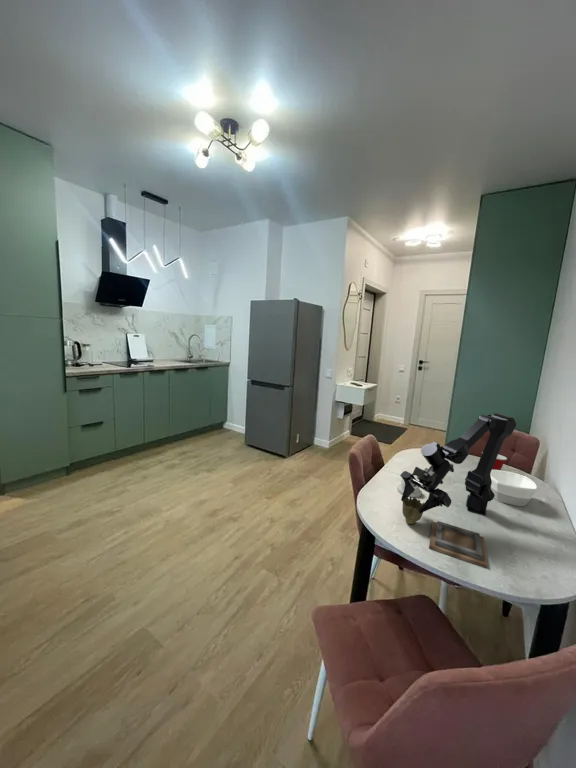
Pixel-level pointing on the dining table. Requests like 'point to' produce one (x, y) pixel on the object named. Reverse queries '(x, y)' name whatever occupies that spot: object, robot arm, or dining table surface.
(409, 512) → the cup
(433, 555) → the dining table surface
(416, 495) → the mechanical component
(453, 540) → the holder board
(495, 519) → the dining table surface
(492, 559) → the dining table surface
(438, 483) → the robot arm
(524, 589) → the dining table surface
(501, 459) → the plastic cup
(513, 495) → the bowl
